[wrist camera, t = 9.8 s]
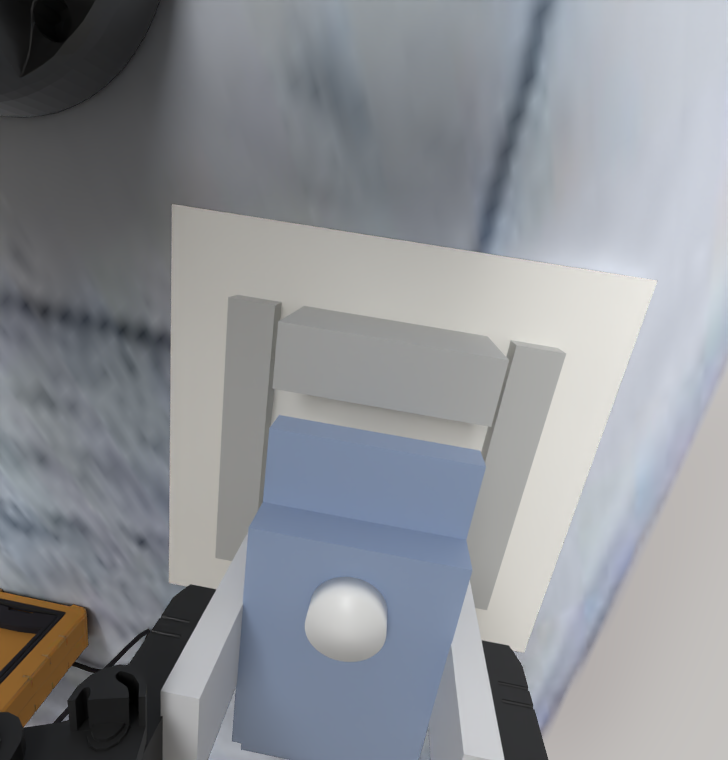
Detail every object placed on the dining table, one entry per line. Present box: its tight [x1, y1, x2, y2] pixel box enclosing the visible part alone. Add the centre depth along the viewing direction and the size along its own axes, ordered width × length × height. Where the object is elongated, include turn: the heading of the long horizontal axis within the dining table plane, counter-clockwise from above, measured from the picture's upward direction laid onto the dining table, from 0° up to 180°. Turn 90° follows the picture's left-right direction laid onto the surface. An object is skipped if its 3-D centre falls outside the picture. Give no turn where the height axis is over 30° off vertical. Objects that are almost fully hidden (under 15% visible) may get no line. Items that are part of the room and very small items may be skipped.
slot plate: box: [169, 204, 657, 653], centre depth 19 cm, size 20×20×5 cm
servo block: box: [232, 415, 486, 760], centre depth 13 cm, size 5×11×7 cm, turn 171°
